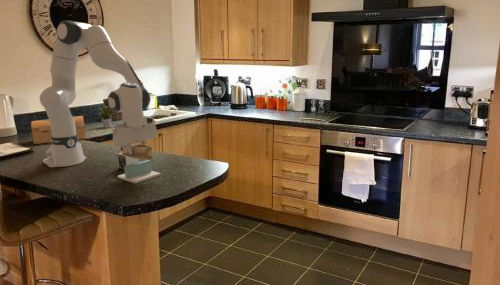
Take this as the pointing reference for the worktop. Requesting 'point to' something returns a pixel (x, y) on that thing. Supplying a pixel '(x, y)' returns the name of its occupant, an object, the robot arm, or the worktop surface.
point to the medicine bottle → (126, 160)
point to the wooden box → (44, 134)
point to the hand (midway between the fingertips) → (137, 152)
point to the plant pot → (114, 116)
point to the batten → (139, 152)
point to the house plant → (106, 117)
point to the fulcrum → (138, 172)
